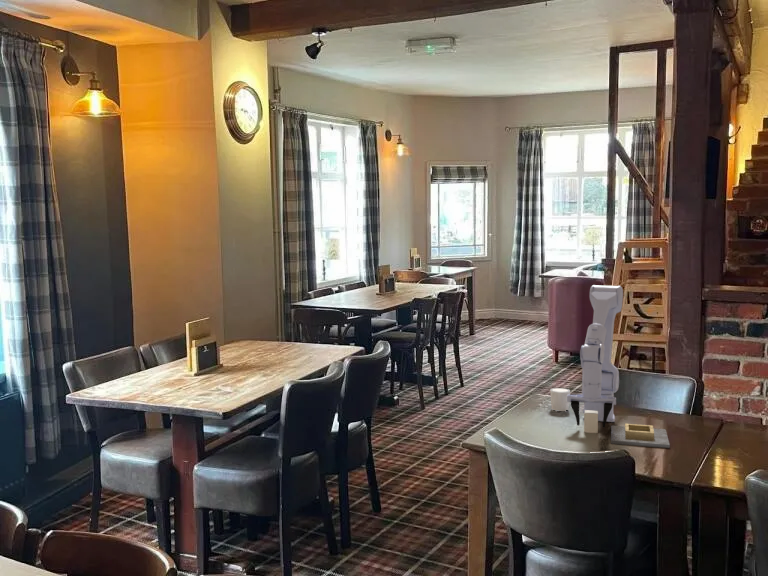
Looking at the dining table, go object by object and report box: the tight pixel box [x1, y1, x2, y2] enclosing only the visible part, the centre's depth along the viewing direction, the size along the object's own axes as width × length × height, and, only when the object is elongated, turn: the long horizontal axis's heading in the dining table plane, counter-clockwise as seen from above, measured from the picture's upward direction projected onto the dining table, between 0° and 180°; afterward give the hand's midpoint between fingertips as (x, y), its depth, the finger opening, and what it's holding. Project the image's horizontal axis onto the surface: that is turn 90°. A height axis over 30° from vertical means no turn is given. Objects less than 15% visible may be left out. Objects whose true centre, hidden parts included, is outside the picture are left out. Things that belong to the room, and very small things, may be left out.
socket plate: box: [610, 423, 671, 449], centre depth 217 cm, size 16×16×3 cm
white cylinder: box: [549, 387, 571, 412], centre depth 250 cm, size 7×7×7 cm
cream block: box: [583, 410, 599, 434], centre depth 225 cm, size 4×4×6 cm
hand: (591, 425), depth 225 cm, fingers open, 7 cm apart
